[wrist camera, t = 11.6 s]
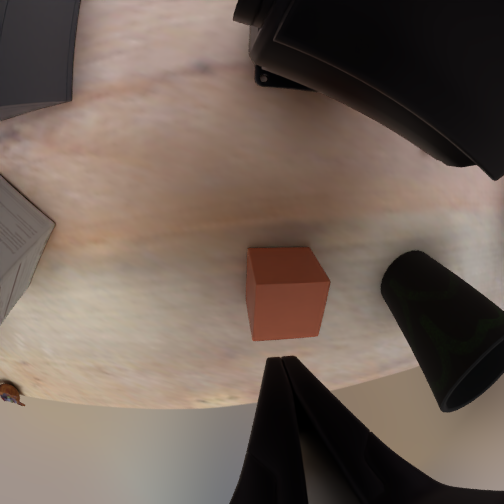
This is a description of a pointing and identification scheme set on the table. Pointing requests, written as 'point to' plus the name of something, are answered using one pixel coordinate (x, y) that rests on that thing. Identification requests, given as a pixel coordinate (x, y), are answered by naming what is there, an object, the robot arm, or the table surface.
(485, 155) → the robot arm
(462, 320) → the cup
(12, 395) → the cat figurine
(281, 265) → the block
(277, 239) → the table surface
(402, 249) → the table surface
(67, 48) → the cabinet
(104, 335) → the table surface
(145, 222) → the table surface
